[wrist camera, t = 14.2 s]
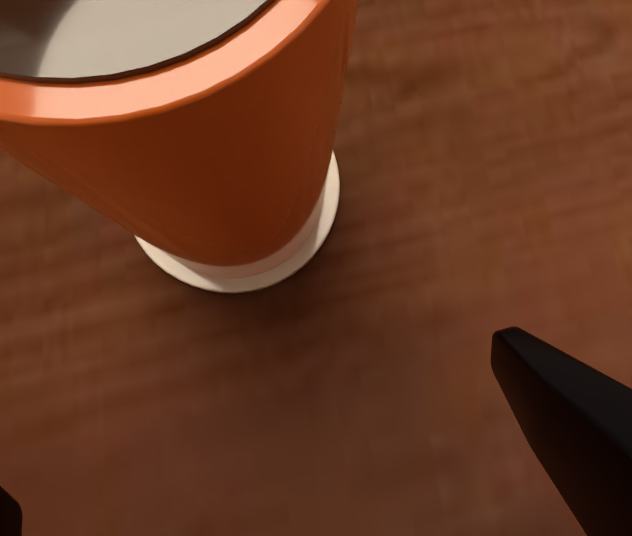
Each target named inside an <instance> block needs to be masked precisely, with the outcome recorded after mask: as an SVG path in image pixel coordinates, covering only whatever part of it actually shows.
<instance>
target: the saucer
mask: <svg viewBox="0 0 632 536" xmlns="http://www.w3.org/2000/svg"><path fill="white" fill-rule="evenodd" d="M339 195H340V178H339V171H338V165H337V161H336V158H335V154H334V152H333V151H332V157H331V162H330V168H329V174H328V180H327V185H326V191H325V197H324V203H323V207H322V211H321V214H320V218H319V220H318V222H317V224H316V227H315V229H314V230H313V232H312V234H311V235H310V237H309V238H308V240H307V241H306V242H305V243H304V245H303V246H302V247H301V248H300V249H299V250H298V251H297V252H296V253H295V254H294V255H293V256H292V257H290V258H289V259H288V260H286V261H285V262H284V263H282V264H280V265H278V266H277V267H275V268H273V269H271V270H268V271H266V272H263V273H261V274H257V275H253V276H249V277H242V278H219V277H212V276H208V275H204V274H201V273H198V272H195V271H193V270H191V269H188V268H186V267H185V266H183V265H181V264H180V263H178V262H176V261H175V260H173V259H172V258H170V257H169V256H167V255H165V254H164V253H162V252H161V251H159V250H158V249H156V248H154V247H153V246H151V245H150V244H148V243H146V242H145V241H143V240H142V239H140V238H139V237H137V236H135V235H134V236H135V238H136V240H137V242H138V243H139V244H140V246H141V247H142V249H143V250H144V251H145V253H146V254H147V255H148V256H149V257H150V258H151V259H152V260H153V261H154V263H155V264H157V265H158V266H159V267H160V268H162V269H163V270H164V271H165V272H167V273H168V274H170V275H171V276H173V277H175V278H176V279H178V280H180V281H182V282H184V283H186V284H189V285H191V286H193V287H196V288H199V289H203V290H206V291H211V292H218V293H245V292H253V291H257V290H261V289H265V288H267V287H270V286H272V285H275V284H278V283H280V282H281V281H283V280H285V279H287V278H289V277H291V276H292V275H293V274H295V273H296V272H297V271H299V270H300V269H301V268H303V267H304V266H305V265H306V264H307V263H308V262H309V261H310V260H311V259H312V258H313V257H314V255H315V254H316V253H317V252H318V250H319V249H320V248H321V246H322V245H323V243H324V241H325V240H326V238H327V236H328V234H329V232H330V230H331V227H332V225H333V222H334V219H335V215H336V212H337V208H338V202H339Z"/></svg>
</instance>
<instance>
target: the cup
mask: <svg viewBox="0 0 632 536" xmlns="http://www.w3.org/2000/svg"><path fill="white" fill-rule="evenodd" d="M358 2H359V0H0V150H2V151H3V152H5V153H6V154H8V155H9V156H11V157H13V158H14V159H16V160H17V161H19V162H21V163H22V164H24V165H25V166H27V167H28V168H30V169H32V170H33V171H35V172H36V173H38V174H39V175H41V176H43V177H44V178H46V179H47V180H49V181H50V182H52V183H54V184H55V185H57V186H58V187H60V188H61V189H63V190H65V191H66V192H68V193H69V194H71V195H72V196H74V197H76V198H77V199H79V200H80V201H82V202H84V203H85V204H87V205H88V206H90V207H91V208H93V209H95V210H96V211H98V212H99V213H101V214H102V215H104V216H106V217H107V218H109V219H110V220H112V221H113V222H115V223H117V224H118V225H120V226H121V227H123V228H124V229H126V230H128V231H129V232H131V233H132V234H134V235H135V236H137V237H139V238H140V239H142V240H143V241H145V242H146V243H148V244H150V245H151V246H153V247H154V248H156V249H158V250H159V251H161V252H162V253H164V254H165V255H167V256H169V257H170V258H172V259H173V260H175V261H176V262H178V263H180V264H181V265H183V266H185V267H186V268H188V269H191V270H193V271H195V272H198V273H201V274H204V275H208V276H212V277H219V278H242V277H249V276H253V275H257V274H261V273H263V272H266V271H268V270H271V269H273V268H275V267H277V266H278V265H280V264H282V263H284V262H285V261H286V260H288V259H289V258H290V257H292V256H293V255H294V254H295V253H296V252H297V251H298V250H299V249H300V248H301V247H302V246H303V245H304V243H305V242H306V241H307V240H308V238H309V237H310V235H311V234H312V232H313V230H314V229H315V227H316V224H317V222H318V220H319V218H320V214H321V211H322V207H323V203H324V197H325V191H326V185H327V180H328V174H329V168H330V162H331V157H332V151H333V145H334V139H335V134H336V128H337V122H338V116H339V111H340V105H341V99H342V93H343V88H344V82H345V76H346V71H347V65H348V59H349V53H350V48H351V42H352V36H353V30H354V25H355V19H356V13H357V7H358Z"/></svg>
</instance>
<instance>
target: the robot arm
mask: <svg viewBox="0 0 632 536" xmlns="http://www.w3.org/2000/svg"><path fill="white" fill-rule="evenodd" d="M491 367H492V370H493V373H494V375H495V377H496V379H497V381H498V383H499V385H500V387H501V389H502V391H503V393H504V395H505V397H506V399H507V401H508V403H509V405H510V407H511V409H512V411H513V413H514V415H515V417H516V419H517V421H518V423H519V425H520V427H521V429H522V431H523V433H524V435H525V437H526V439H527V441H528V443H529V445H530V446H531V448H532V450H533V452H534V453H535V455H536V456H537V458H538V460H539V461H540V463H541V464H542V466H543V468H544V469H545V471H546V472H547V474H548V475H549V477H550V478H551V480H552V482H553V483H554V485H555V486H556V488H557V489H558V491H559V492H560V494H561V496H562V497H563V499H564V500H565V502H566V503H567V505H568V506H569V508H570V510H571V511H572V513H573V514H574V516H575V517H576V519H577V520H578V522H579V524H580V525H581V527H582V528H583V530H584V531H585V533H586V534H587V536H632V389H631V388H629V387H627V386H625V385H623V384H622V383H620V382H618V381H616V380H614V379H612V378H611V377H609V376H607V375H605V374H603V373H601V372H600V371H598V370H596V369H594V368H592V367H590V366H588V365H587V364H585V363H583V362H581V361H579V360H577V359H576V358H574V357H572V356H570V355H568V354H566V353H565V352H563V351H561V350H559V349H557V348H555V347H554V346H552V345H550V344H548V343H546V342H544V341H543V340H541V339H539V338H537V337H535V336H533V335H532V334H530V333H528V332H526V331H524V330H522V329H520V328H518V327H508V328H505V329H502V330H498V331H496V332H494V334H493V336H492V348H491ZM0 536H22V510H21V507H20V505H19V503H18V502H17V501H16V500H15V499H14V498H13V497H12V496H10V495H9V494H8V493H7V492H6V491H5V490H4V489H3V488H2V487H1V486H0Z"/></svg>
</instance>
